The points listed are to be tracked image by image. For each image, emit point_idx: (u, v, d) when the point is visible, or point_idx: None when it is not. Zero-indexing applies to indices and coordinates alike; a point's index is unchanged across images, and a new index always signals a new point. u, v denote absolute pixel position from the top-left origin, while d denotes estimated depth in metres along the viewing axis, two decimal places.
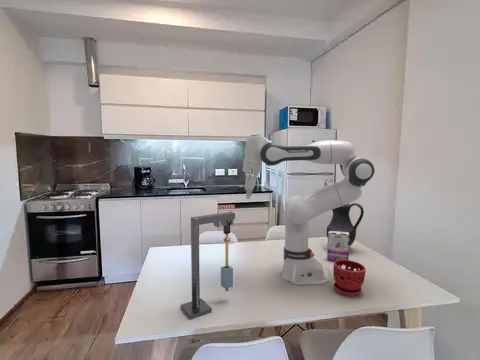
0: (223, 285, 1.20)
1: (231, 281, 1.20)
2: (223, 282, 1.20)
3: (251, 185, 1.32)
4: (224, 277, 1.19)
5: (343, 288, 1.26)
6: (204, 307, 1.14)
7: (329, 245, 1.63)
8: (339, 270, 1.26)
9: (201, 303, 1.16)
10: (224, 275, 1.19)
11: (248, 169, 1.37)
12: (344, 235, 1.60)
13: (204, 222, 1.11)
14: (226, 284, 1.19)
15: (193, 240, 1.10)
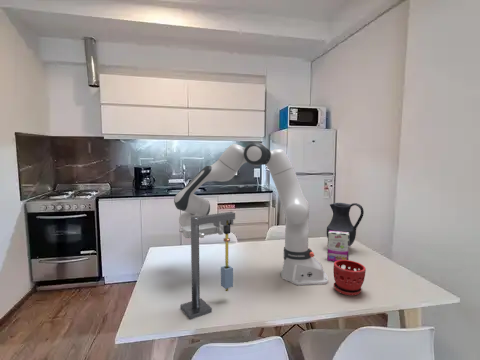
0: (223, 285, 1.20)
1: (231, 281, 1.20)
2: (223, 282, 1.20)
3: (184, 230, 1.29)
4: (224, 277, 1.19)
5: (343, 288, 1.26)
6: (204, 307, 1.14)
7: (329, 245, 1.63)
8: (339, 270, 1.26)
9: (201, 303, 1.16)
10: (224, 275, 1.19)
11: None
12: (344, 235, 1.59)
13: (204, 222, 1.11)
14: (226, 284, 1.19)
15: (193, 240, 1.10)
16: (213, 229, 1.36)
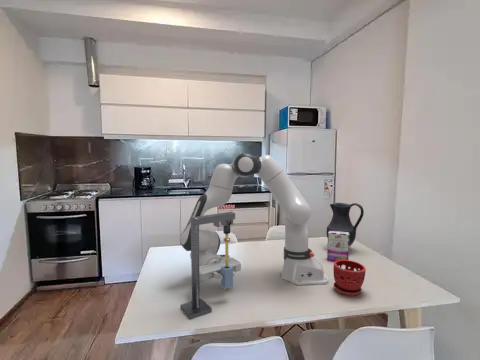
0: (223, 285, 1.20)
1: (231, 281, 1.20)
2: (223, 282, 1.20)
3: None
4: (224, 277, 1.19)
5: (343, 288, 1.26)
6: (204, 307, 1.14)
7: (329, 245, 1.63)
8: (339, 270, 1.26)
9: (201, 303, 1.16)
10: (224, 275, 1.19)
11: None
12: (344, 235, 1.59)
13: (204, 222, 1.11)
14: (226, 284, 1.19)
15: (193, 240, 1.10)
16: None
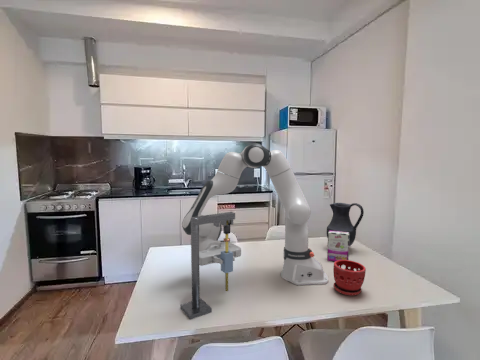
0: (223, 270, 1.19)
1: (231, 266, 1.19)
2: (223, 267, 1.19)
3: None
4: (224, 261, 1.18)
5: (343, 288, 1.26)
6: (204, 307, 1.14)
7: (329, 245, 1.63)
8: (339, 270, 1.26)
9: (201, 303, 1.16)
10: (224, 259, 1.18)
11: None
12: (344, 235, 1.59)
13: (204, 222, 1.11)
14: (226, 269, 1.18)
15: (193, 240, 1.10)
16: None
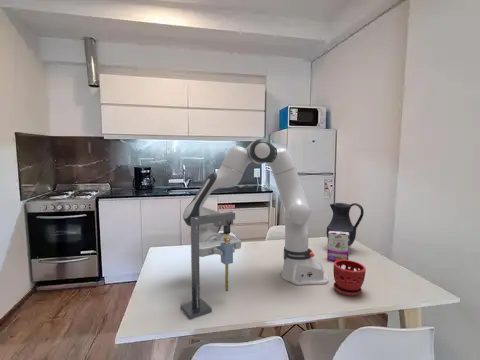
0: (223, 261, 1.19)
1: (231, 257, 1.19)
2: (223, 258, 1.19)
3: None
4: (224, 253, 1.18)
5: (343, 288, 1.26)
6: (204, 307, 1.14)
7: (329, 245, 1.63)
8: (339, 270, 1.26)
9: (201, 303, 1.16)
10: (224, 251, 1.18)
11: None
12: (344, 235, 1.60)
13: (204, 222, 1.11)
14: (226, 260, 1.18)
15: (193, 240, 1.10)
16: None
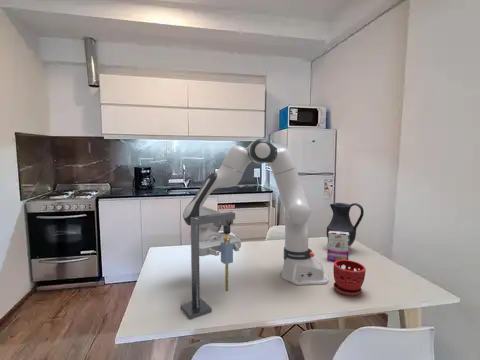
0: (223, 261, 1.19)
1: (231, 257, 1.19)
2: (223, 258, 1.19)
3: None
4: (224, 252, 1.18)
5: (343, 288, 1.26)
6: (204, 307, 1.14)
7: (329, 245, 1.63)
8: (339, 270, 1.26)
9: (201, 303, 1.16)
10: (224, 250, 1.18)
11: None
12: (344, 235, 1.59)
13: (204, 222, 1.11)
14: (226, 259, 1.18)
15: (193, 240, 1.10)
16: None
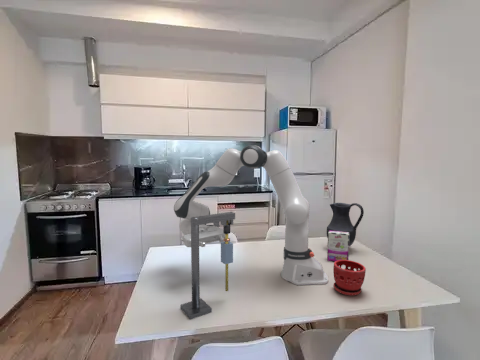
0: (223, 261, 1.19)
1: (231, 257, 1.19)
2: (223, 258, 1.19)
3: (185, 240, 1.30)
4: (224, 252, 1.18)
5: (343, 288, 1.26)
6: (204, 307, 1.14)
7: (329, 245, 1.63)
8: (339, 270, 1.26)
9: (201, 303, 1.16)
10: (224, 250, 1.18)
11: None
12: (344, 235, 1.59)
13: (204, 222, 1.11)
14: (226, 259, 1.18)
15: (193, 240, 1.10)
16: (214, 237, 1.36)
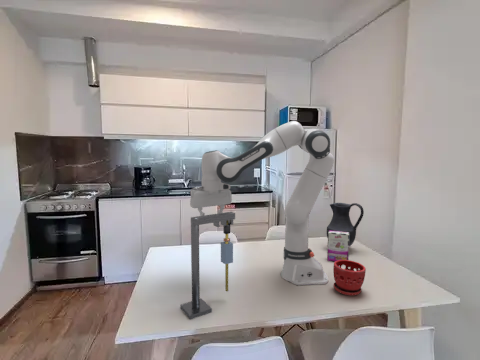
0: (223, 261, 1.19)
1: (231, 257, 1.19)
2: (223, 258, 1.19)
3: (192, 203, 1.30)
4: (224, 252, 1.18)
5: (343, 288, 1.26)
6: (204, 307, 1.14)
7: (329, 245, 1.63)
8: (339, 270, 1.26)
9: (201, 303, 1.16)
10: (224, 250, 1.18)
11: None
12: (344, 235, 1.59)
13: (204, 222, 1.11)
14: (226, 259, 1.18)
15: (193, 240, 1.10)
16: None
